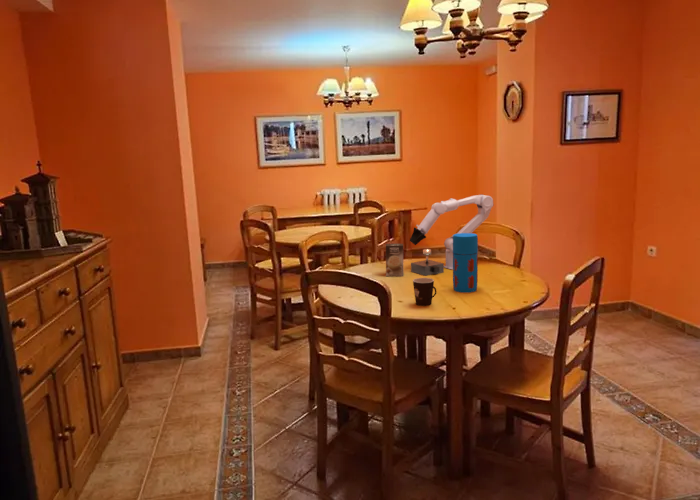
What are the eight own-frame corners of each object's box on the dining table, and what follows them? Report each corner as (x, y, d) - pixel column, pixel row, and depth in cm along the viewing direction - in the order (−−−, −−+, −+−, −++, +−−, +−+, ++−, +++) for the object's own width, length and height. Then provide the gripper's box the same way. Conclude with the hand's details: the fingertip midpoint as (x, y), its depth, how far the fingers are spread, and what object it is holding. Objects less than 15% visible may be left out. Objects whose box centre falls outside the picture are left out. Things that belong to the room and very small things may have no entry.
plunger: (427, 262, 271) (427, 248, 270) (432, 263, 268) (432, 249, 266) (421, 263, 269) (421, 249, 268) (426, 264, 266) (426, 250, 265)
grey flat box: (429, 268, 277) (429, 259, 277) (446, 273, 265) (446, 264, 265) (411, 271, 272) (410, 262, 271) (427, 276, 260) (427, 267, 259)
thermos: (478, 287, 236) (478, 233, 232) (476, 293, 226) (476, 237, 222) (454, 286, 240) (454, 232, 235) (451, 292, 230) (451, 236, 225)
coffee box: (385, 276, 263) (384, 245, 260) (386, 273, 269) (385, 243, 266) (403, 276, 262) (403, 245, 259) (403, 273, 268) (403, 243, 265)
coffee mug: (411, 301, 218) (410, 278, 216) (431, 300, 218) (431, 277, 216) (417, 309, 206) (416, 285, 204) (438, 308, 207) (438, 284, 205)
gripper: (424, 220, 279) (409, 240, 280) (419, 215, 266) (403, 236, 267) (434, 228, 277) (419, 248, 278) (430, 222, 263) (414, 244, 264)
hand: (412, 242), depth 272 cm, fingers open, 7 cm apart
